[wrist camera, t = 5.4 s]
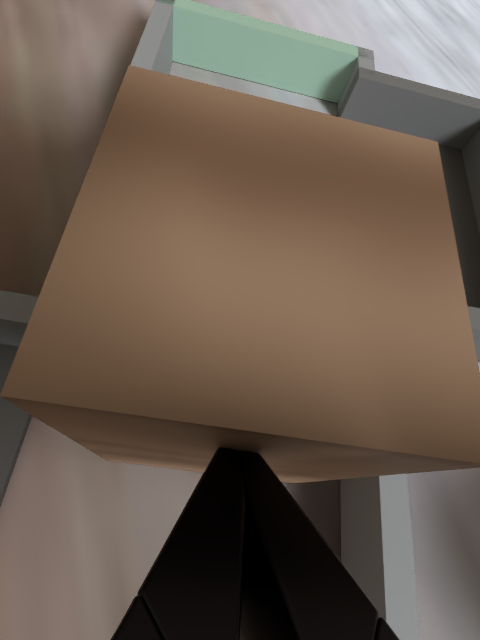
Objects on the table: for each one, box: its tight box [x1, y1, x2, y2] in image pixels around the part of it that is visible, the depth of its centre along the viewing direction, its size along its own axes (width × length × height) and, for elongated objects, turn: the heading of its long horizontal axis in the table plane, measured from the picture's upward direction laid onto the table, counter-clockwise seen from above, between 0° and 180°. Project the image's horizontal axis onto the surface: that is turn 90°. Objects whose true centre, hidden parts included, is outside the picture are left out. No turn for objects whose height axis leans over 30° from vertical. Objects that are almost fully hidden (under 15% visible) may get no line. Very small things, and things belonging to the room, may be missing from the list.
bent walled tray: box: [0, 0, 480, 640], centre depth 16 cm, size 36×30×3 cm
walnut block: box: [0, 65, 480, 483], centre depth 13 cm, size 14×7×10 cm, turn 173°
